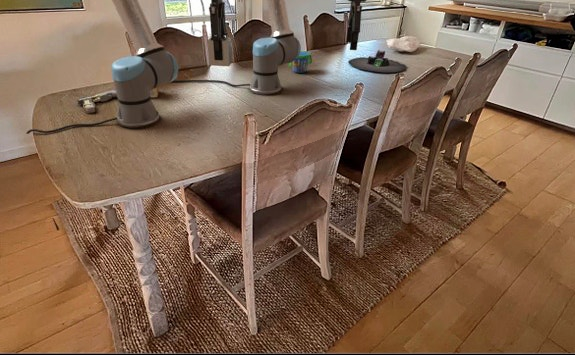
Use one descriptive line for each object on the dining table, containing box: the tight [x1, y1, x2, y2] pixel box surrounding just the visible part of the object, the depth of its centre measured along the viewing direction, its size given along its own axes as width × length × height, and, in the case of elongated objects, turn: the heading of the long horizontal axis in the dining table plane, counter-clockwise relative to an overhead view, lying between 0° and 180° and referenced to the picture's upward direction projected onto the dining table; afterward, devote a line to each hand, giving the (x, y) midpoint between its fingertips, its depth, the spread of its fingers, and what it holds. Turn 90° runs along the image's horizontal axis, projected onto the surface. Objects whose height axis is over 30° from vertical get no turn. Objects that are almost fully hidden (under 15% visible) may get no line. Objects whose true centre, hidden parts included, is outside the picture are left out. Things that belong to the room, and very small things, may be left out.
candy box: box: [150, 87, 160, 99], centre depth 163 cm, size 9×4×15 cm, turn 13°
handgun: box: [76, 89, 118, 114], centre depth 155 cm, size 3×18×15 cm
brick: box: [207, 36, 233, 67], centre depth 126 cm, size 6×7×8 cm
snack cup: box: [288, 50, 313, 74], centre depth 203 cm, size 16×10×10 cm
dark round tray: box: [347, 49, 407, 74], centre depth 221 cm, size 35×35×9 cm
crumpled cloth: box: [385, 35, 422, 53], centre depth 256 cm, size 24×35×9 cm
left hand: (220, 57), depth 127 cm, fingers closed on brick, 6 cm apart
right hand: (351, 46), depth 154 cm, fingers open, 13 cm apart
